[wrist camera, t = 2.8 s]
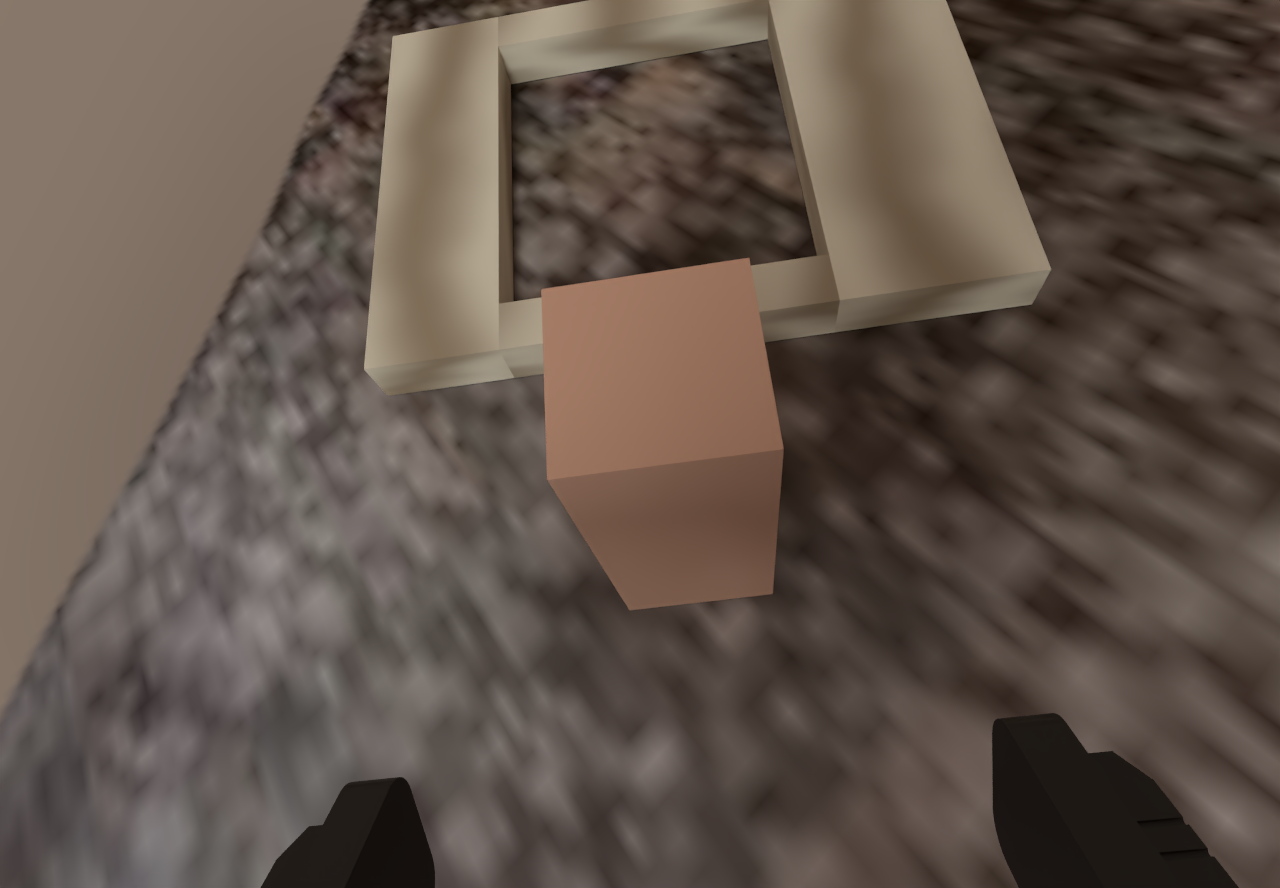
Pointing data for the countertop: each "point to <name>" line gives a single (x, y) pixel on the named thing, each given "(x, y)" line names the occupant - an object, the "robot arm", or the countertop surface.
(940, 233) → the beige lopsided picture frame
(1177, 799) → the countertop surface
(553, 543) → the countertop surface
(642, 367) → the tall salmon pink block
